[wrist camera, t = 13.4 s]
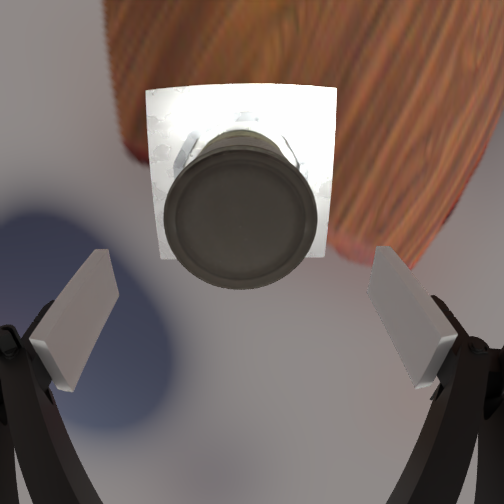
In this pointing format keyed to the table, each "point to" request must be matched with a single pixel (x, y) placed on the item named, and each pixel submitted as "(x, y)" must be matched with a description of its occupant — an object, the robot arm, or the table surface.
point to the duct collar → (247, 118)
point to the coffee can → (240, 213)
